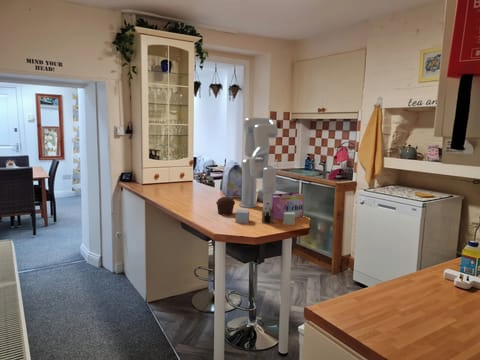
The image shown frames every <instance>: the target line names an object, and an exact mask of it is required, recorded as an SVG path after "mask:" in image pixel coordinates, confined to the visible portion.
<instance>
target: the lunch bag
mask: <svg viewBox="0 0 480 360" xmlns="http://www.w3.org/2000/svg"><path fill="white" fill-rule="evenodd" d="M221 192H222V193H223V194H224V195H225V197H230V198H232V199H233V198H238V199H239V198H241V199H242V168H241V165H240V164H238V161H236V160H234V159H231V160H229V161H228V162H227V163H226V164H225V166H224V167H223V171H222V186H221Z"/></svg>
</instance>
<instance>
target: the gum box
mask: <svg viewBox="0 0 480 360" xmlns="http://www.w3.org/2000/svg"><path fill="white" fill-rule="evenodd" d="M304 210H305V194H301V193H300V192H287V193H273V203H272V209H271V211H273V221H274V220H275V221H277V220H283V219H284V211H286V212H295V218H300V217H301V216H302V217H304V212H305V211H304Z"/></svg>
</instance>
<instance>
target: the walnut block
mask: <svg viewBox="0 0 480 360" xmlns="http://www.w3.org/2000/svg"><path fill="white" fill-rule="evenodd" d="M264 217H265V210H263V209H262V212H261V223H262V224H266V223H265V222H264ZM273 222H274V220H273V211H270V223H269V224H270V225H271V224H273Z"/></svg>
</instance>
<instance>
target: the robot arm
mask: <svg viewBox="0 0 480 360" xmlns="http://www.w3.org/2000/svg"><path fill="white" fill-rule="evenodd" d="M243 128H244V134H245V144H244V154H245V156H246V157H248V158H245V159H243V160H242V161H241V165H240V166H241V168H242V198H241V202H240V203H239V204H238V206H239V207H242V208H247V209H250V208H251V209H253V208H257V207H259V205H258V204H259V203H257V179H262V180H261V183H262V186H261V193H263V195H262V196H263V197H262V211H263V210H265V217H264V222H265V223H264V224H270V211H271V209H272V203H273V194H276V192H277V191H276V190H277V189H276V188H277V169H276V167H274V166H273V165H270V164H269V159H270V158H269V157H270V148H271V147H270V139H276V138H277V137H278V133H279V131H278V126H277V125H276V123H275V122H274V120H273V119H272V118H271V117H270V118H269V117H246V118H245V120H244V122H243Z"/></svg>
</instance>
